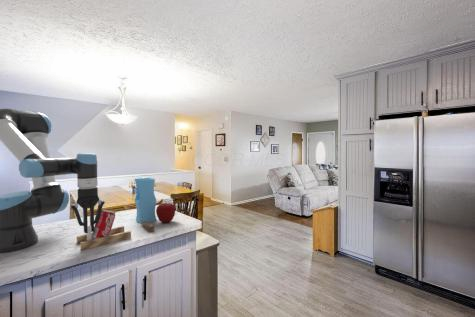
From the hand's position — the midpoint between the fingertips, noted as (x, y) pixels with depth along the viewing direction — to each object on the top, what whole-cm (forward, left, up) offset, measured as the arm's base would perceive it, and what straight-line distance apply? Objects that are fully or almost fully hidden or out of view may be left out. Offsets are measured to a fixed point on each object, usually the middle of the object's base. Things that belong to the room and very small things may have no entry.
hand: (89, 239), depth 102 cm
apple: (+29, +27, -2) cm, 40 cm away
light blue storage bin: (+16, +33, -2) cm, 37 cm away
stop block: (+21, +16, -2) cm, 27 cm away
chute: (+5, +4, -2) cm, 7 cm away
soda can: (+3, +2, -1) cm, 4 cm away
